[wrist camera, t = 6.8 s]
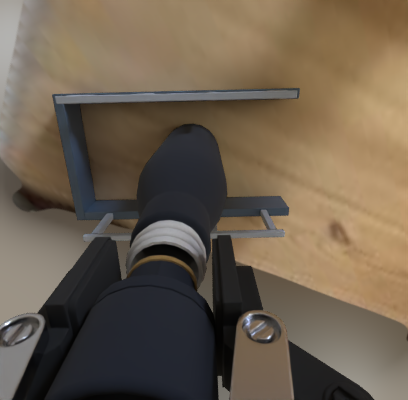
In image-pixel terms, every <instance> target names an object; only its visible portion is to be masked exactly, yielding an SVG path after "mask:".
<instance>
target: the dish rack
mask: <svg viewBox="0 0 408 400" xmlns="http://www.w3.org/2000/svg"><path fill="white" fill-rule="evenodd" d="M299 92H300V88H283V89H243V90H202V91H161V92H120V93H80V94H52V96H53V101H54V106H55V111H56V116H57V121H58V126H59V131H60V136H61V141H62V146H63V151H64V156H65V161H66V166H67V171H68V176H69V181H70V186H71V191H72V196H73V201H74V206H75V211H76V216H77V220H101V222H100V223H99V224H98V225H97V227H96V228H95V229H94V231H93V232H92V233H91V234H84V236H83V240H84V242H85V241H93V239H94V238H95V237H111V239H112V240H115V241H124V240H125V241H129V240H131V234H132V233H105V234H103V232H104V231H105V230H106V228H107V227H108V225H109V224H110V223H111V221H112V220H113V219H139V214H138V209H137V203H136V200H137V199H136V200H96V199H95V193H94V187H93V181H92V175H91V169H90V163H89V158H88V152H87V146H86V140H85V134H84V128H83V123H82V117H81V111H80V105H79V104H100V103H141V102H182V101H223V100H264V99H298V98H299ZM288 214H289V207H288V206H287V204H286V203H285V202H284V200H283V199H282V198H281V196H265V197H226V201H225V205H224V208H223V212H222V215H221V217H242V216H261V217H262V219H263V222H264V224H265V226H266V228H267V230H236V231H217V224H216V226H215V227H214V229H213V230H212V231H211V233H210V239H214V238H217V235H231V238H261V237H284V235H285V232H284V230H283V229H280V230H277V229H276V227H275V225H274V223H273V221H272V219H271V217H270V216H286V215H288Z"/></svg>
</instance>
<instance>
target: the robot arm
mask: <svg viewBox="0 0 408 400" xmlns="http://www.w3.org/2000/svg"><path fill="white" fill-rule="evenodd" d="M212 272H213V273H212V275H213V314H214V321H215V339H216V354H217V376H222V385H223V387H225V388H226V389H227V390H228V391H229V392H230V397H229V400H374V399H373V398H372V397H371V395H370V394H369V393H368V392H367V391H366V390H364V389H363V388H362V387H360V386H359V385H358V384H356V383H354V382H353V381H351V380H350V379H348V378H346V377H345V376H344V375H342V374H340V373H339V372H337V371H336V370H334V369H333V368H331V367H329V366H328V365H326V364H325V363H323V362H321V361H320V360H318V359H317V358H315V357H314V356H312V355H311V354H309V353H307V352H306V351H304V350H303V349H301V348H299V347H298V346H296V345H295V344H293V343H292V342H290V341H289V340H288V338H287V330H286V327H285V324H284V323H283V322H282V320H281V319H280V318H279V317H277V316H276V315H274V314H272V313H270V312H268V311H263V307H262V303H261V300H260V296H259V292H258V288H257V285H256V281H255V277H254V273H253V270H252V267H251V266H236V263H235V257H234V252H233V246H232V240H231V235H217V238H214V239H212ZM121 280H122V279H121V272H120V265H119V259H118V252H117V246H116V241H115V240H112V239H111V237H95V238H94V239H93V241H92V242H91V243H90V245H89V246H88V248H87V249H86V250H85V252H84V253H83V254H82V255H81V257H80V258H79V260H78V261H77V262H76V264H75V265H74V266H73V268H72V269H71V270H70V271H69V272H68V273H67V274H66V276H65V277H64V278H63V280H62V281H61V282H60V284H59V285H58V287H57V288H56V289H55V290H54V292H53V293H52V294H51V296H50V297H49V298H48V300H47V301H46V302H45V304H44V305H43V306H42V308H41V309H40V310H39V312H38V313H26V314H21V315H18V316H15V317H13V318H11V319H9V320H7V321H5V322H4V323H2V324H1V325H0V400H44V399H45V397H46V395H47V393H48V391H49V389H50V387H51V385H52V383H53V381H54V379H55V377H56V376H57V374H58V372H59V370H60V368H61V366H62V364H63V362H64V360H65V358H66V356H67V354H68V353H69V351H70V349H71V347H72V345H73V343H74V341H75V339H76V337H77V335H78V333H79V331H80V329H81V328H82V326H83V324H84V322H85V320H86V318H87V316H88V314H89V312H90V310H91V308H92V307H93V305H94V303H95V301H96V300H97V298H98V296H99V294H101V293H102V292H103V291H104V290H106V289H107V288H108V287H109V286H111V285H112V284H113V283H115V282H118V281H121Z"/></svg>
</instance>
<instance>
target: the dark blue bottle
mask: <svg viewBox="0 0 408 400" xmlns="http://www.w3.org/2000/svg"><path fill="white" fill-rule="evenodd" d="M226 197H227V184H226V178H225V173H224V169H223V165H222V161H221V156H220V152H219V148H218V144H217V142H216V139H215V137H214V136H213V134H212V133H211V132H210V131H209V130H208V129H206V128H204V127H203V126H201V125H196V124H185V125H182V126H180V127H178V128H176V129H175V130H174V131H173V132H172V133H170V135H169V136H168V137H167V138H166V140H165V141H164V142H163V143H162V145H161V146H160V147H159V148H158V150H157V151H156V152H155V153H154V155H153V156H152V157H151V158H150V160H149V161H148V162H147V163H146V165H145V167H144V169H143V171H142V173H141V175H140V178H139V183H138V190H137V200H136V203H137V209H138V214H139V220H138V222H137V224H136V226H135V228H134V230H133V232H132V234H131V240H130V250H129V251H128V253H127V259H126V269H127V272H126V273H127V278H126V279H124V280H121V281H118V282H115V283H113V284H112V285H111V286H109V287H108V288H107V289H106V290H104V291H103V292H102V293H101V294H99V296H98V298H97V300H96V301H95V303H94V305H93V307H92V308H91V310H90V312H89V314H88V316H87V318H86V320H85V322H84V324H83V326H82V328H81V329H80V331H79V333H78V335H77V337H76V339H75V341H74V343H73V345H72V347H71V349H70V351H69V353H68V354H67V356H66V358H65V360H64V362H63V364H62V366H61V368H60V370H59V372H58V374H57V376H56V377H55V379H54V381H53V383H52V385H51V387H50V389H49V391H48V393H47V395H46V397H45V399H44V400H219V399H218V378H217V354H216V339H215V321H214V314H213V313H212V311H211V309H210V307H209V305H208V303H207V301H206V300H205V299H204V298H203V297H202V296H201V295H200V294H199V293H198V292H197V289H198V288H199V287H200V284H201V282H202V281H203V279H204V276H205V273H206V269H207V268H206V263H207V261H208V258H209V254H210V251H211V240H210V233H211V231H212V230H213V229H214V227H215V226H216V224H217V223H218V221H219V220H220V217H221V215H222V212H223V208H224V205H225V201H226Z"/></svg>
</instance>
